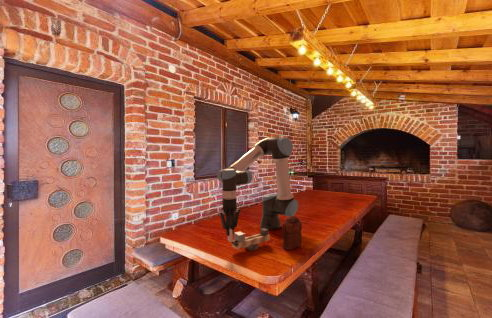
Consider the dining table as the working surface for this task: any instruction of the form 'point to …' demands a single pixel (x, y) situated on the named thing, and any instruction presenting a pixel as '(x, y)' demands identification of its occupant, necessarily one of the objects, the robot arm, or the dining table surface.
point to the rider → (239, 236)
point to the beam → (252, 240)
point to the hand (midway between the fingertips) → (230, 240)
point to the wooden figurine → (292, 233)
